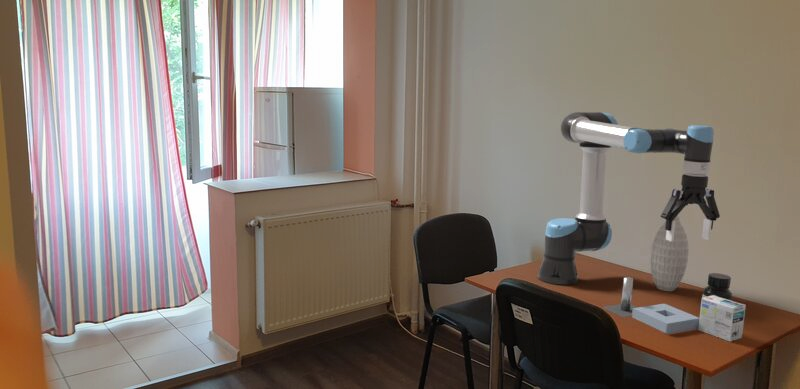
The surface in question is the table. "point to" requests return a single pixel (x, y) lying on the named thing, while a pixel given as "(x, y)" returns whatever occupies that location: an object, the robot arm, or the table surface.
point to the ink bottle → (718, 286)
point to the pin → (626, 294)
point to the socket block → (666, 318)
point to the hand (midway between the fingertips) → (687, 240)
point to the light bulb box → (721, 318)
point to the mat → (619, 310)
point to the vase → (669, 257)
